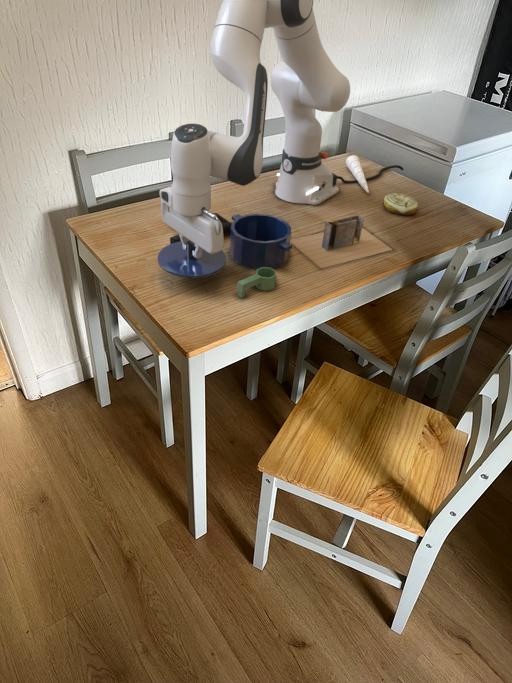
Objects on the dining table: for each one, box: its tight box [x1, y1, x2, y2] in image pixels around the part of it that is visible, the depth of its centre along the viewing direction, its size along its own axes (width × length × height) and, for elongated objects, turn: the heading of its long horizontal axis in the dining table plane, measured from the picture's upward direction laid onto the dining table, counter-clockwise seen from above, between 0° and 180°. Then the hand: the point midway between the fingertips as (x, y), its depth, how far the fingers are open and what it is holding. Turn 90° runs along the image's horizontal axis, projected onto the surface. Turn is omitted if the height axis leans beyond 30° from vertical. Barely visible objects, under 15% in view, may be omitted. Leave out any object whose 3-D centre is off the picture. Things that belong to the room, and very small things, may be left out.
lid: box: [157, 241, 227, 279], centre depth 131 cm, size 17×17×5 cm
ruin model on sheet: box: [290, 214, 393, 269], centre depth 150 cm, size 25×16×10 cm, turn 120°
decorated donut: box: [382, 192, 419, 216], centre depth 172 cm, size 10×11×4 cm
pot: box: [229, 213, 294, 270], centre depth 144 cm, size 16×21×8 cm
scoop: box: [237, 267, 277, 299], centre depth 132 cm, size 11×5×4 cm, turn 132°
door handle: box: [169, 212, 233, 244], centre depth 153 cm, size 3×20×16 cm
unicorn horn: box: [345, 154, 370, 194], centre depth 188 cm, size 5×24×5 cm, turn 3°
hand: (192, 253), depth 132 cm, fingers closed on lid, 2 cm apart
